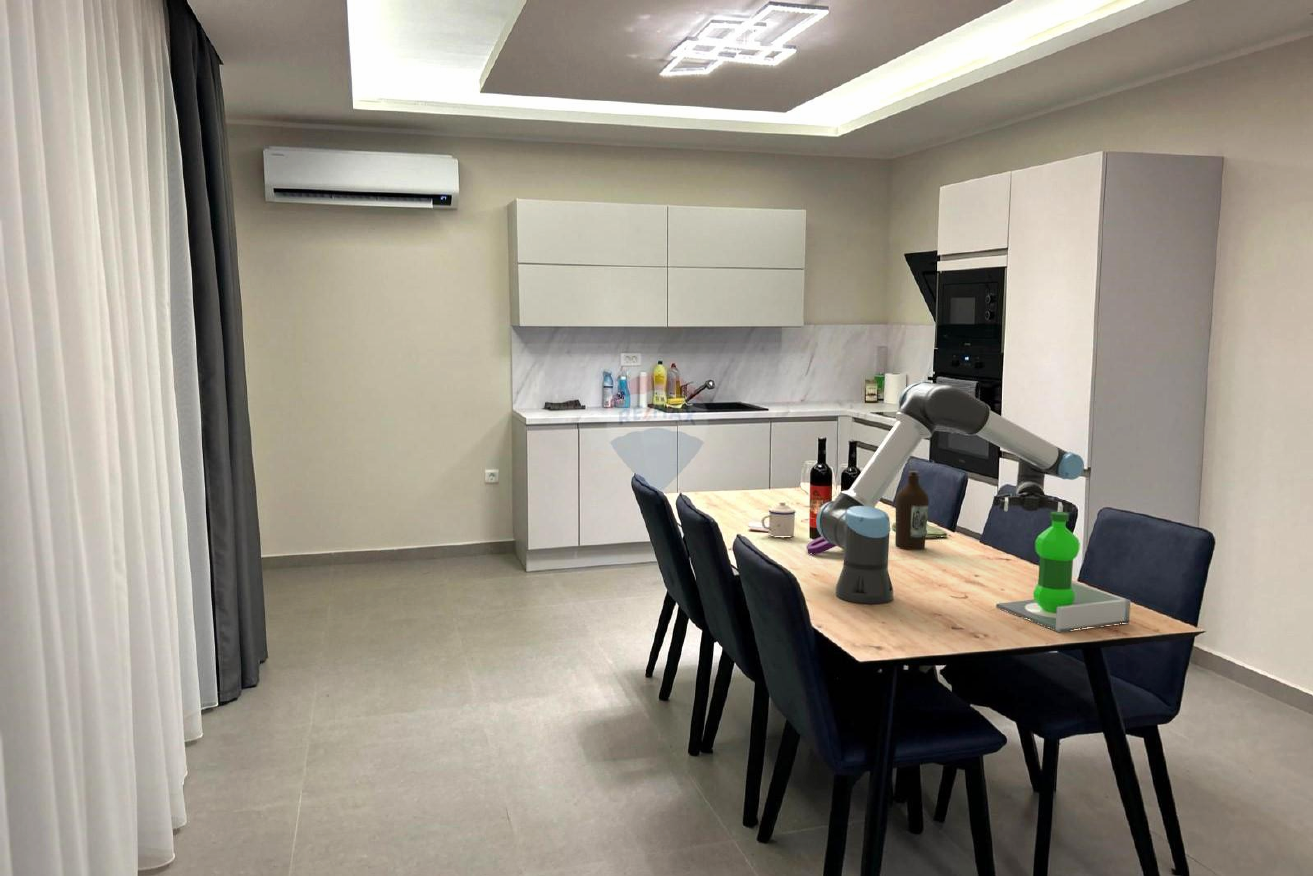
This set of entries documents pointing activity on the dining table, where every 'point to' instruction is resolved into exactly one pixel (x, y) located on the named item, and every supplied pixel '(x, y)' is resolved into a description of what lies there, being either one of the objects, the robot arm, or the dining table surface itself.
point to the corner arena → (1076, 610)
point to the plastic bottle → (1055, 564)
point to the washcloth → (929, 531)
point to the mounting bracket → (819, 546)
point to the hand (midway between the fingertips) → (1033, 508)
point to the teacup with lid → (780, 520)
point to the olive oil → (911, 514)
